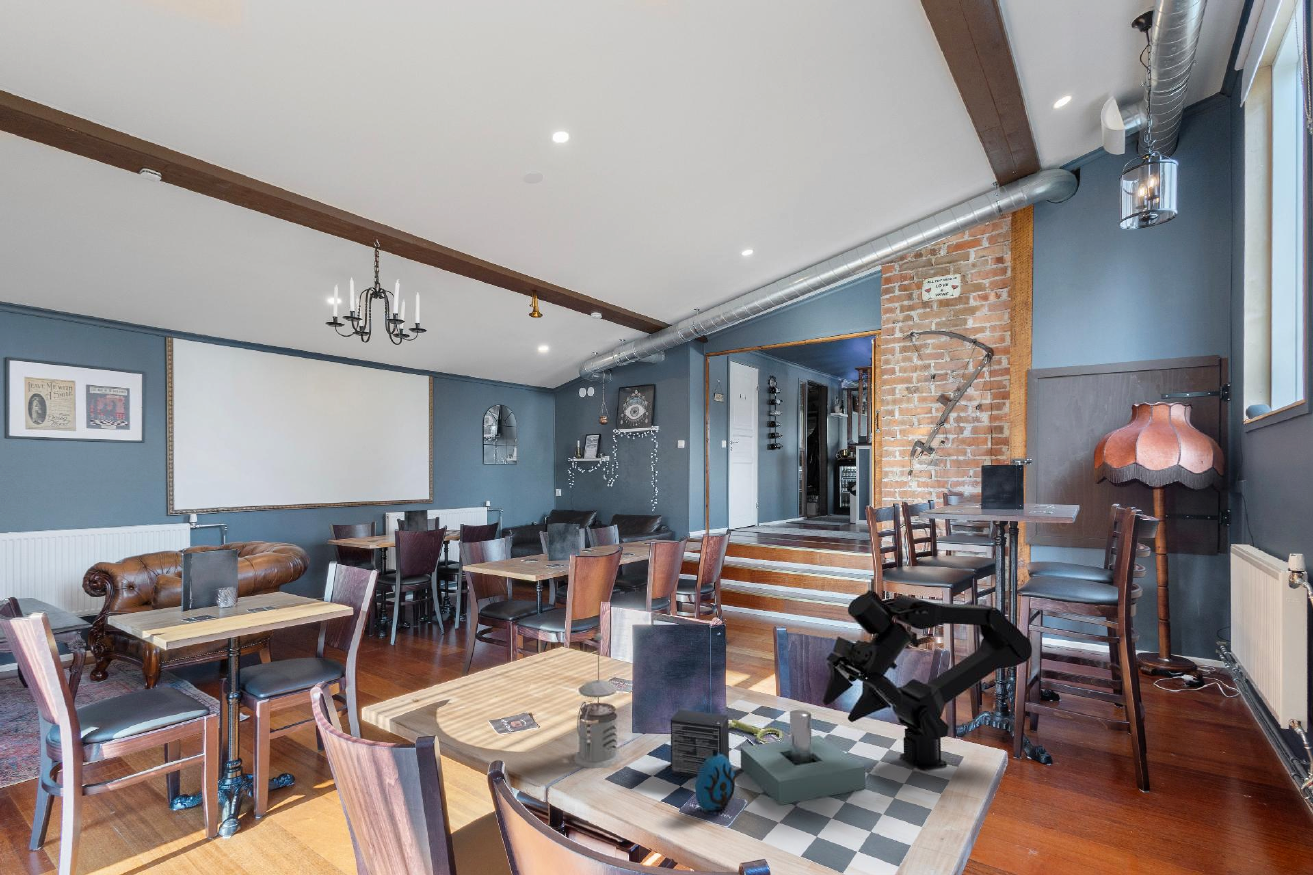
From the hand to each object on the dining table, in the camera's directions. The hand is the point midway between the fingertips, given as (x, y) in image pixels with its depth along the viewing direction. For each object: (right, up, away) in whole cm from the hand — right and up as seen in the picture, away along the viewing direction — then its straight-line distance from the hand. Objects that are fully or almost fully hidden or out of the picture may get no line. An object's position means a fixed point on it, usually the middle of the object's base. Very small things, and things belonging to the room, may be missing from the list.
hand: (836, 711), depth 125 cm
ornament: (-25, -11, -14) cm, 30 cm away
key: (-13, -13, +18) cm, 26 cm away
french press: (-47, -12, +6) cm, 49 cm away
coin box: (-7, -11, -3) cm, 14 cm away
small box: (-26, -12, 0) cm, 29 cm away
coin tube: (-7, -12, -3) cm, 14 cm away
